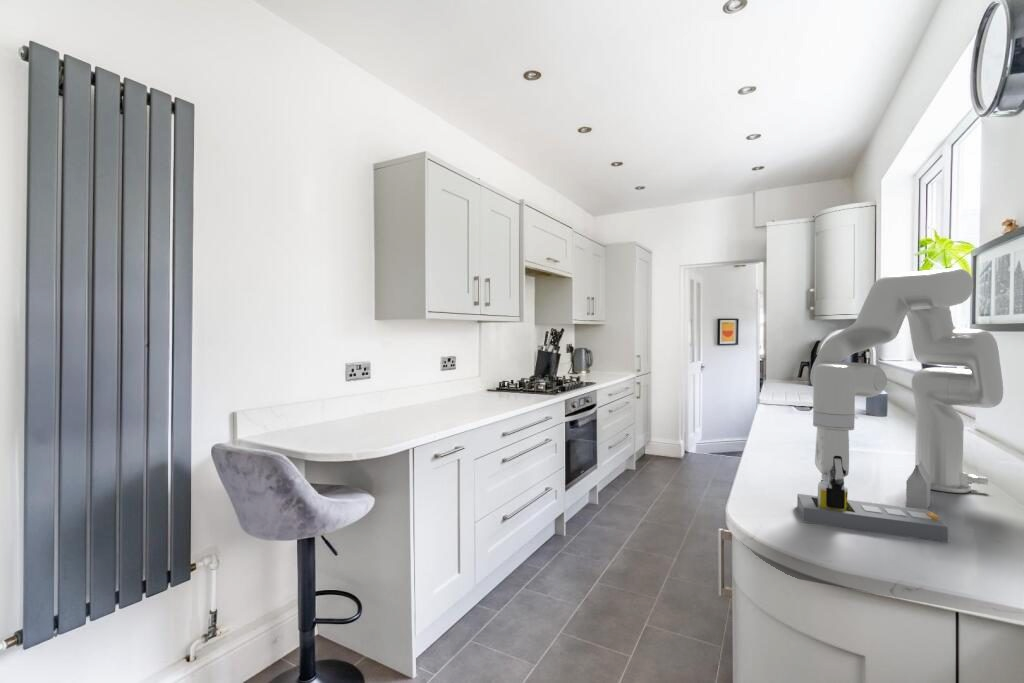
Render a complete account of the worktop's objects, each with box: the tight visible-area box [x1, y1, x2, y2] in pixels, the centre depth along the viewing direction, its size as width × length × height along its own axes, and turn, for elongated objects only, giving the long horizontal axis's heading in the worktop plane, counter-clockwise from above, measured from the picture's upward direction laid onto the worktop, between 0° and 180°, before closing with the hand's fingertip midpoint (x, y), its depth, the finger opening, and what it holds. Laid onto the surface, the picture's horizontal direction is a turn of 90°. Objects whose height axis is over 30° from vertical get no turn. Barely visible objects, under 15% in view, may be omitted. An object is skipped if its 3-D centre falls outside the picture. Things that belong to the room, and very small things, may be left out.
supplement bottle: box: [817, 471, 849, 511], centre depth 103 cm, size 5×5×10 cm
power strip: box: [796, 493, 949, 543], centre depth 101 cm, size 24×10×4 cm, turn 65°
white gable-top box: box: [905, 460, 932, 510], centre depth 112 cm, size 4×7×10 cm, turn 133°
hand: (832, 502), depth 104 cm, fingers closed on supplement bottle, 5 cm apart
